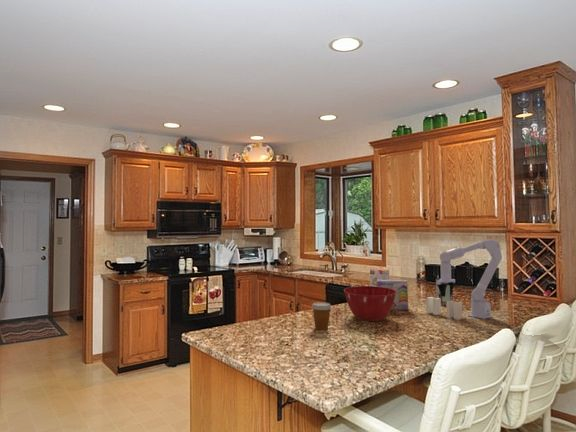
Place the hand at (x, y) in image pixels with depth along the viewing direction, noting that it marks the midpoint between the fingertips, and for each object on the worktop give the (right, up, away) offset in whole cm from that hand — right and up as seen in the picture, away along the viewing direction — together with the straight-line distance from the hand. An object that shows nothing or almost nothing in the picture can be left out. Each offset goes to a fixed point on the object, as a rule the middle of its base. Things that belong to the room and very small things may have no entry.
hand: (446, 295), depth 232 cm
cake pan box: (-29, -10, +11) cm, 33 cm away
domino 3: (0, -3, 0) cm, 3 cm away
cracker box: (-30, -11, +40) cm, 51 cm away
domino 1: (-9, -10, 0) cm, 14 cm away
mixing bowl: (-47, -10, -13) cm, 50 cm away
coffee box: (+9, -11, +25) cm, 29 cm away
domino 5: (0, -10, -15) cm, 18 cm away
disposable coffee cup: (-76, -10, -34) cm, 83 cm away
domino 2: (-7, -10, -4) cm, 12 cm away
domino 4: (-2, -10, -11) cm, 15 cm away
